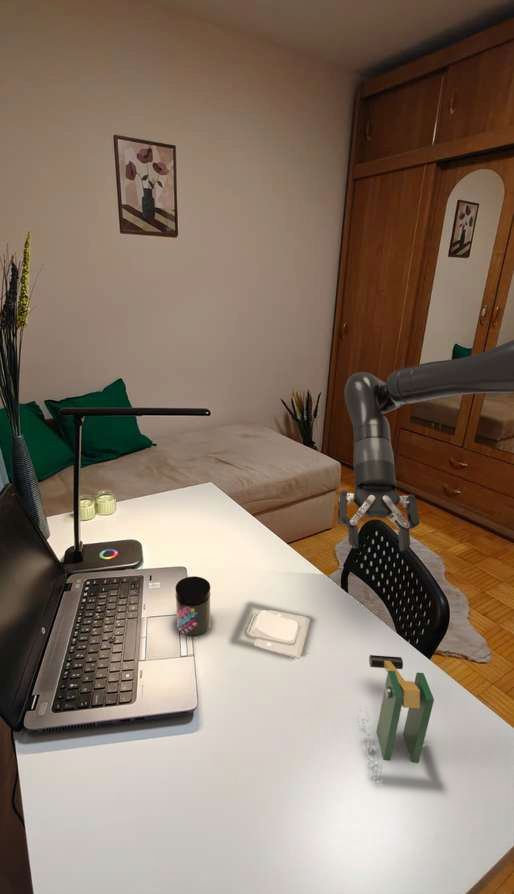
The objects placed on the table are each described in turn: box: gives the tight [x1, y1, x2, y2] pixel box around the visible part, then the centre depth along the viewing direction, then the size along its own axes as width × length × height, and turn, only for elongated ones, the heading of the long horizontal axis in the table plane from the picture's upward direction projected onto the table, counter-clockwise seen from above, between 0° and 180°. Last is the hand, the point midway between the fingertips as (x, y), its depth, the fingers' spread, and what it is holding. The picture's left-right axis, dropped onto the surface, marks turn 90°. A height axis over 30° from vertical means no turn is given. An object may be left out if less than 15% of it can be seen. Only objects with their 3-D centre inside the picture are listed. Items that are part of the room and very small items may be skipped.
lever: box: [368, 654, 420, 709], centre depth 67 cm, size 13×5×2 cm, turn 176°
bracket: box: [376, 671, 435, 764], centre depth 63 cm, size 10×8×14 cm
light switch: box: [246, 609, 311, 659], centre depth 87 cm, size 11×4×13 cm
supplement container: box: [175, 575, 211, 638], centre depth 87 cm, size 7×7×10 cm
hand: (379, 549), depth 79 cm, fingers open, 8 cm apart
